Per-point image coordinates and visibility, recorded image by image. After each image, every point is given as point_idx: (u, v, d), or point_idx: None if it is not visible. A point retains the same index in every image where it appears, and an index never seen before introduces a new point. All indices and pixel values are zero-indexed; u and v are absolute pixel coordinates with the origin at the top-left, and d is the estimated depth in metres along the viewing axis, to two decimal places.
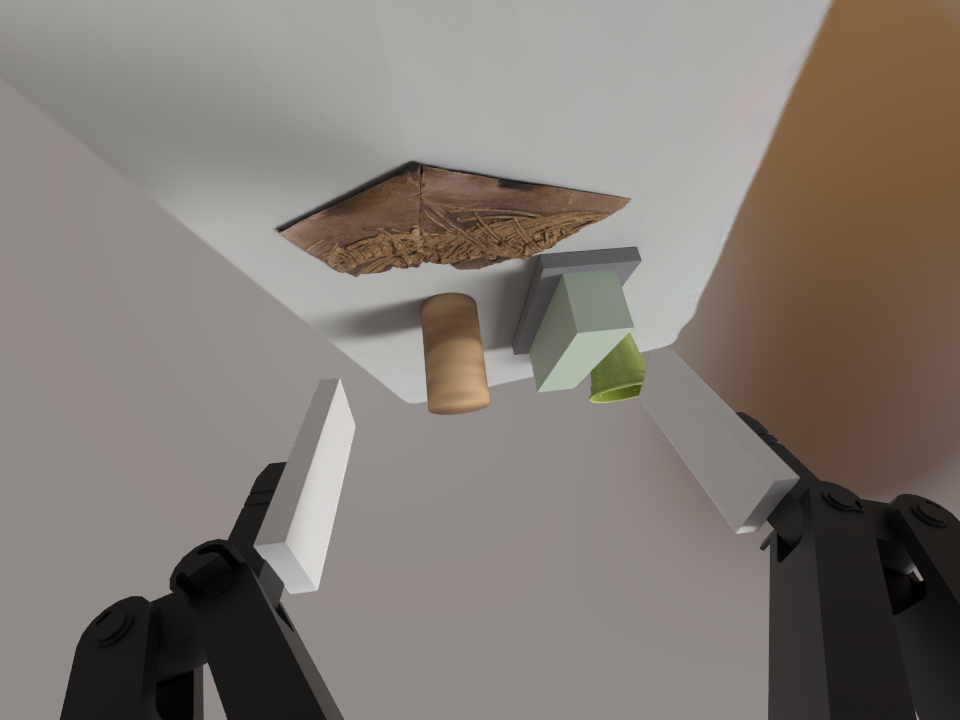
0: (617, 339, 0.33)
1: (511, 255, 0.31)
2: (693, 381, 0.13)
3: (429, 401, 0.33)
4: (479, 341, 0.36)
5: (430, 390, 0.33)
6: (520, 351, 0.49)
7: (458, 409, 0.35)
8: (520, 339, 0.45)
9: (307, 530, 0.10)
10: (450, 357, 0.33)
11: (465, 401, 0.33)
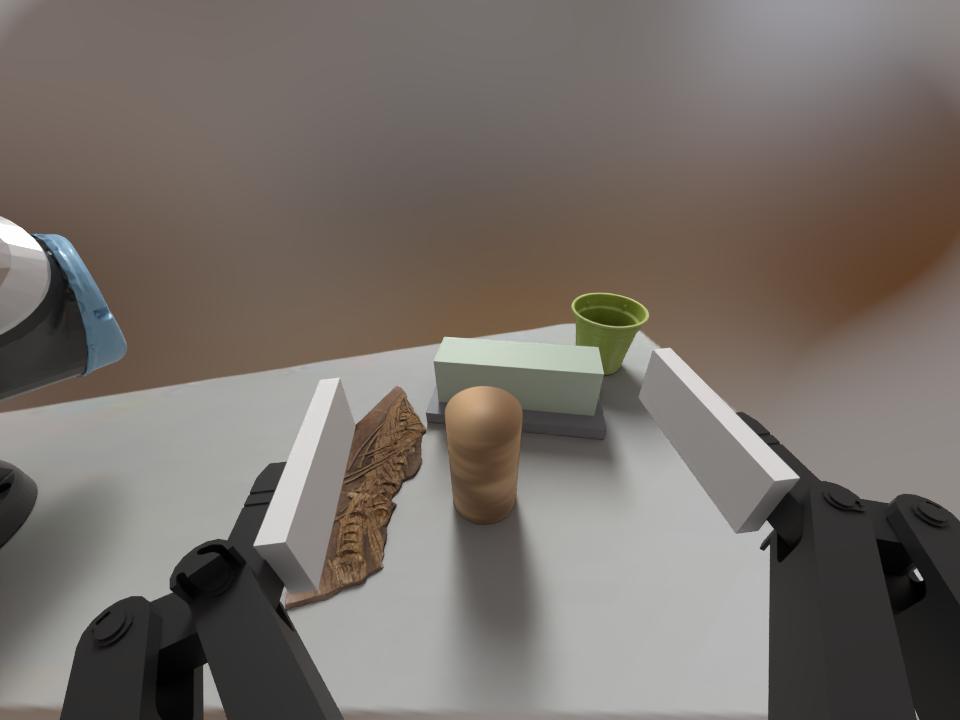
0: (462, 340, 0.42)
1: (412, 436, 0.40)
2: (693, 381, 0.13)
3: (462, 442, 0.26)
4: None
5: (458, 447, 0.27)
6: (594, 424, 0.39)
7: (495, 413, 0.27)
8: (557, 424, 0.39)
9: (307, 530, 0.10)
10: None
11: (461, 403, 0.28)
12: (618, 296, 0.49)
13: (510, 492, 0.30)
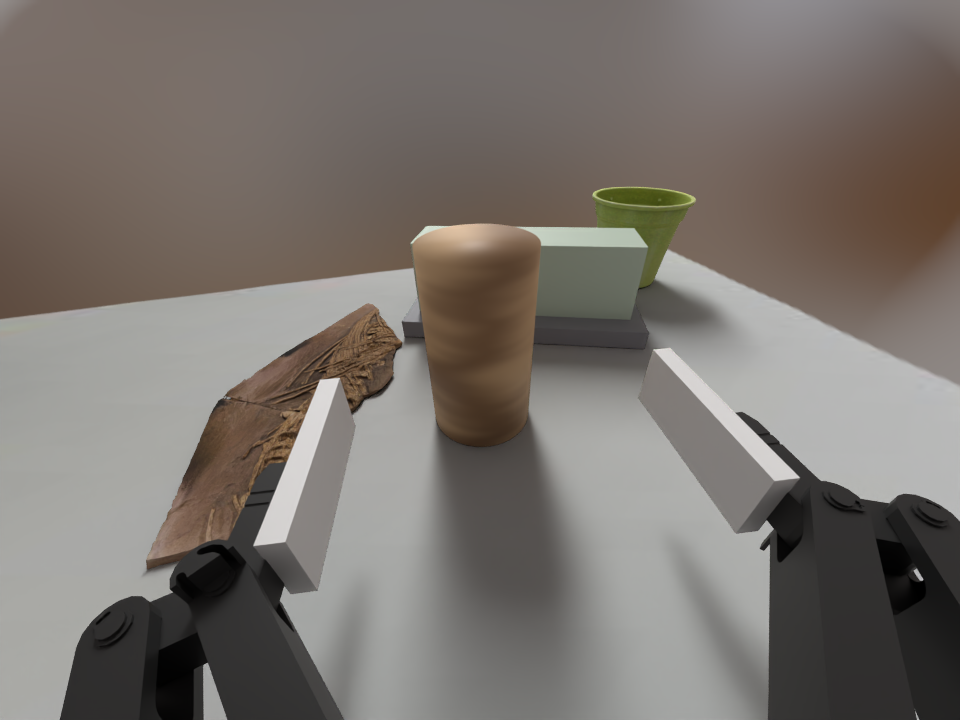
0: None
1: (382, 349, 0.29)
2: (693, 381, 0.13)
3: (441, 277, 0.15)
4: None
5: (435, 294, 0.16)
6: (632, 327, 0.28)
7: (496, 243, 0.17)
8: (581, 328, 0.28)
9: (307, 530, 0.10)
10: None
11: (440, 237, 0.17)
12: (650, 189, 0.38)
13: (521, 391, 0.20)
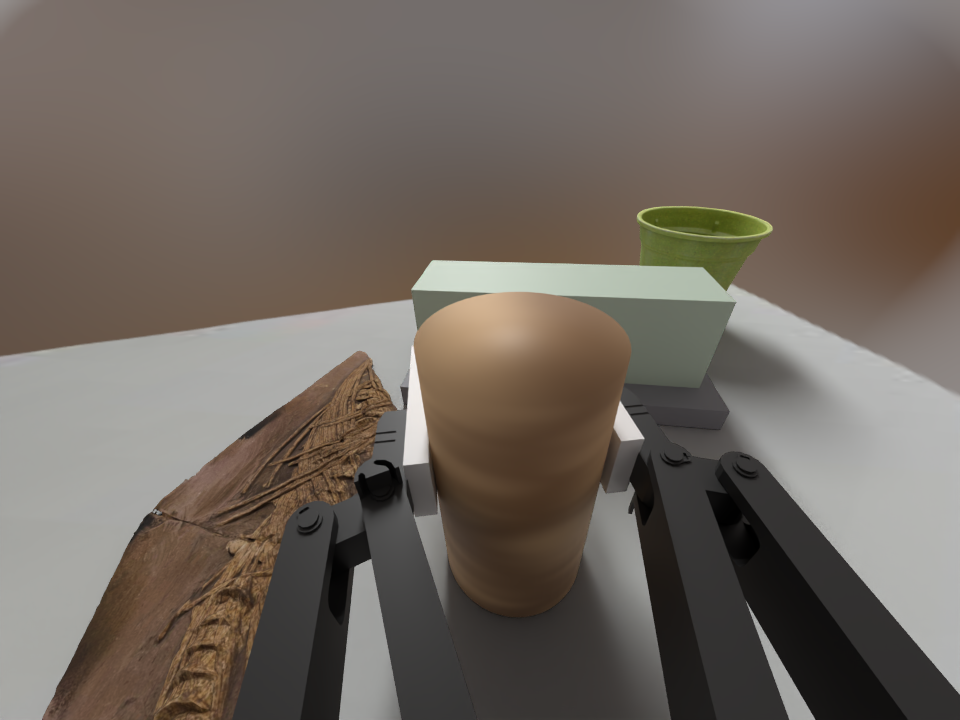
0: (463, 264, 0.25)
1: (375, 427, 0.22)
2: None
3: (468, 414, 0.08)
4: None
5: (455, 434, 0.09)
6: (705, 402, 0.21)
7: (552, 337, 0.10)
8: None
9: None
10: None
11: (457, 323, 0.11)
12: (705, 209, 0.31)
13: (582, 542, 0.13)
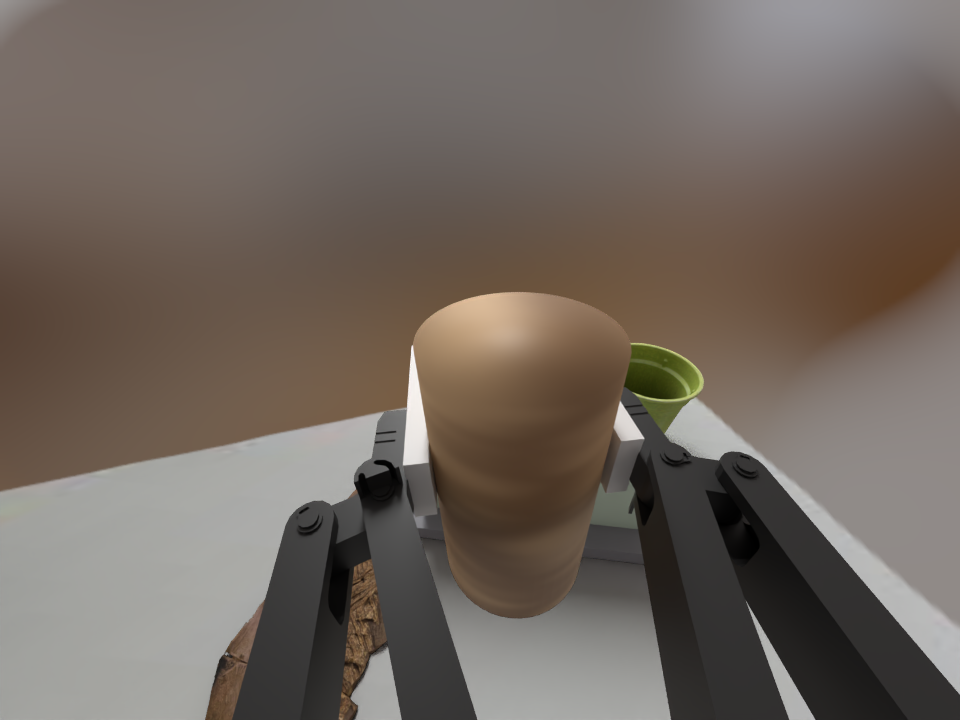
0: None
1: None
2: None
3: (468, 415, 0.08)
4: None
5: (455, 435, 0.09)
6: None
7: (552, 337, 0.10)
8: (590, 546, 0.28)
9: None
10: None
11: (457, 324, 0.11)
12: (656, 348, 0.38)
13: (582, 543, 0.13)
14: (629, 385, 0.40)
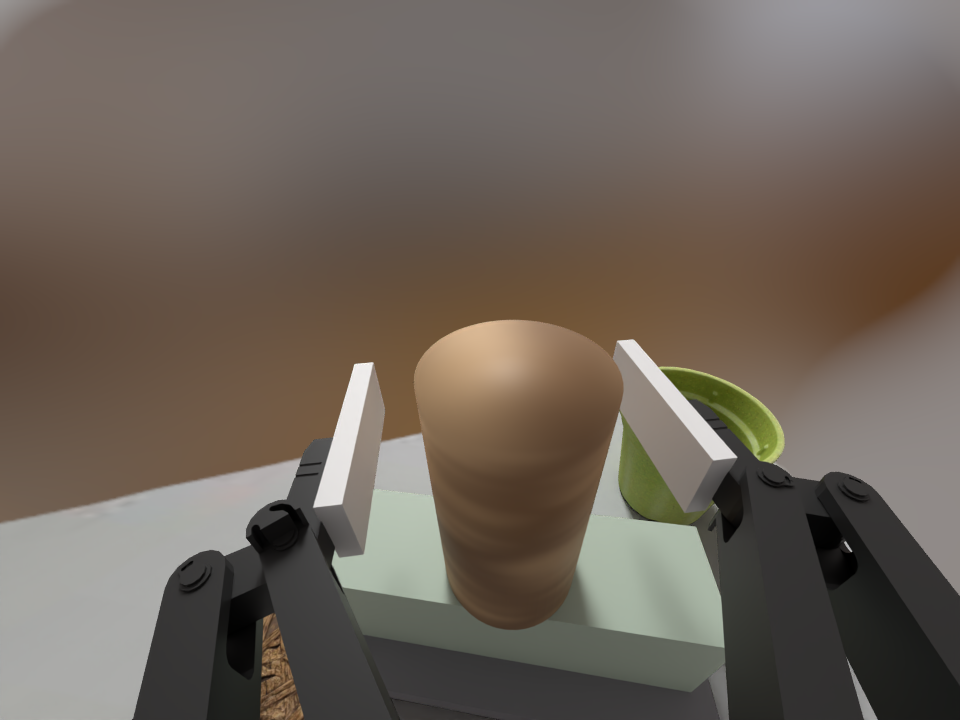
0: (392, 500, 0.19)
1: None
2: (651, 370, 0.14)
3: (466, 454, 0.09)
4: None
5: (454, 470, 0.09)
6: None
7: (548, 373, 0.10)
8: None
9: (356, 497, 0.11)
10: None
11: (456, 356, 0.11)
12: (701, 375, 0.26)
13: (575, 561, 0.13)
14: None
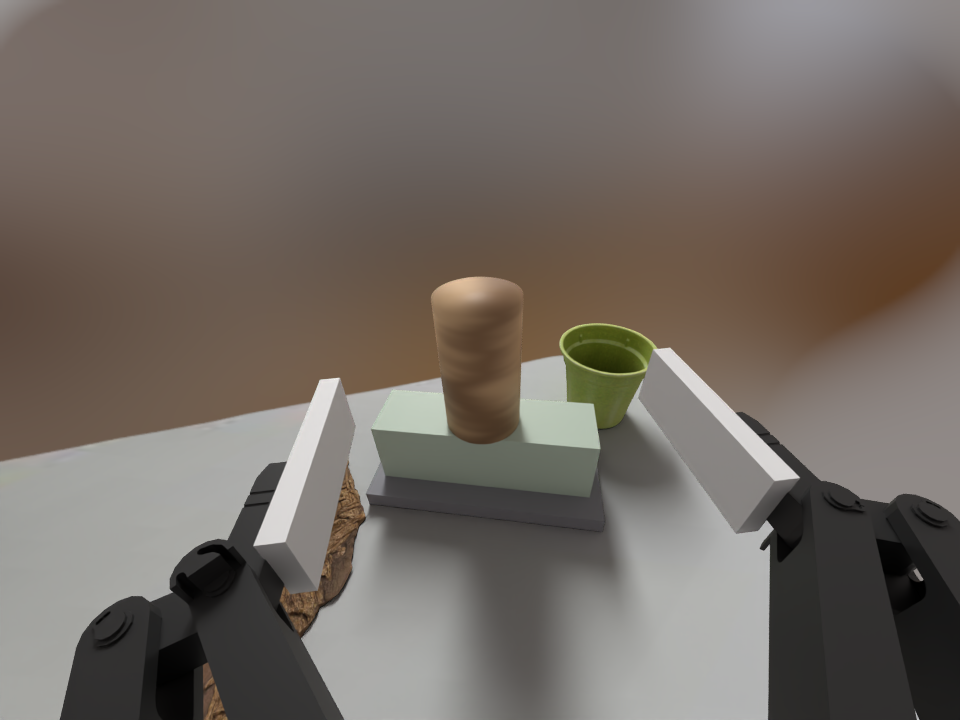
0: (415, 395, 0.32)
1: (345, 529, 0.29)
2: (693, 381, 0.13)
3: (453, 322, 0.21)
4: None
5: (448, 333, 0.22)
6: (590, 511, 0.29)
7: (491, 295, 0.23)
8: (539, 512, 0.29)
9: (307, 530, 0.10)
10: None
11: (450, 290, 0.24)
12: (619, 328, 0.39)
13: (512, 401, 0.26)
14: (595, 365, 0.41)
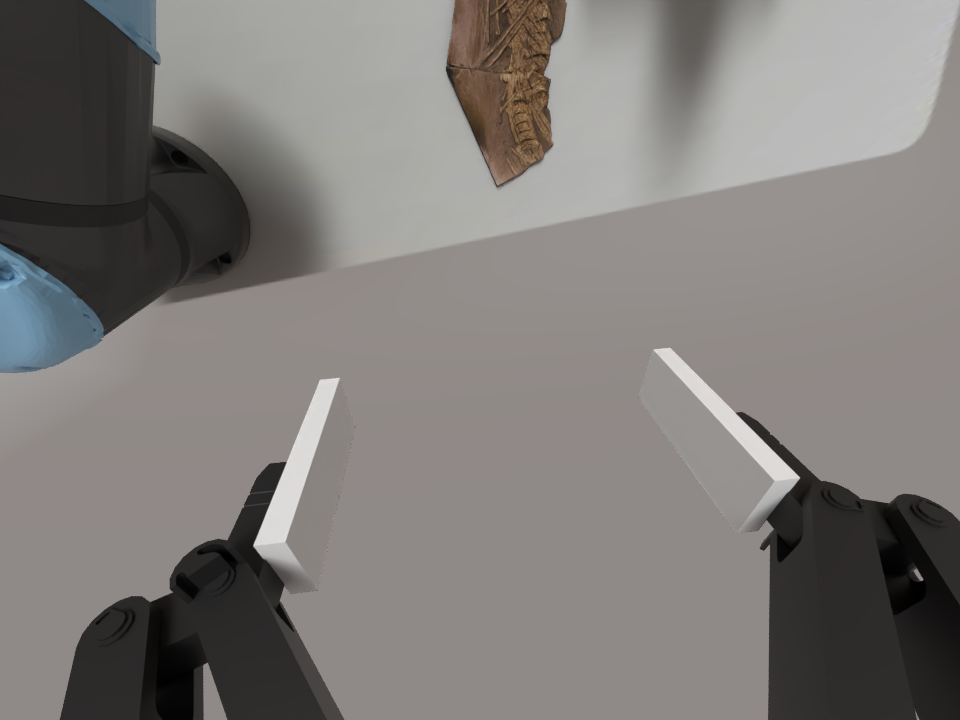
0: None
1: None
2: (693, 381, 0.13)
3: None
4: None
5: None
6: None
7: None
8: None
9: (307, 530, 0.10)
10: None
11: None
12: None
13: None
14: None
